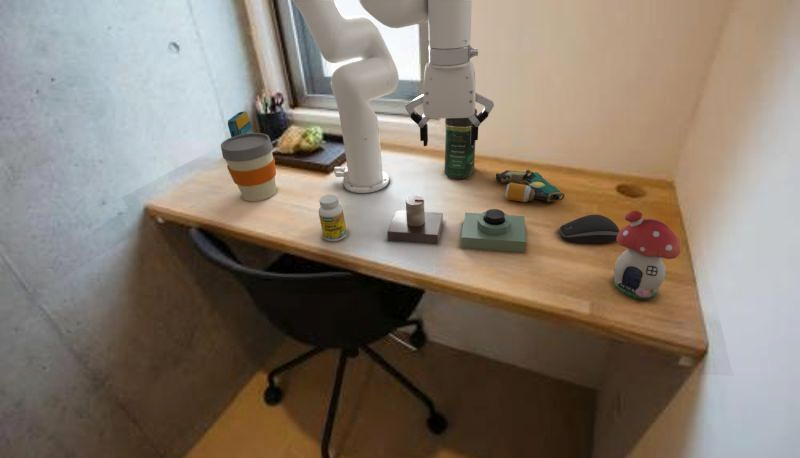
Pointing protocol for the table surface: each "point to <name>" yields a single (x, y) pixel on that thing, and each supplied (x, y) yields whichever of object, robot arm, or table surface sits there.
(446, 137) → the coffee jar
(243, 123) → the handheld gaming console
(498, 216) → the button
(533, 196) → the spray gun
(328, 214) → the supplement bottle
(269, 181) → the reusable coffee cup
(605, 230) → the computer mouse
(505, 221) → the green push button panel
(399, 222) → the dial panel
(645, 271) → the decorative ornament
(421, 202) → the dial
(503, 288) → the table surface
